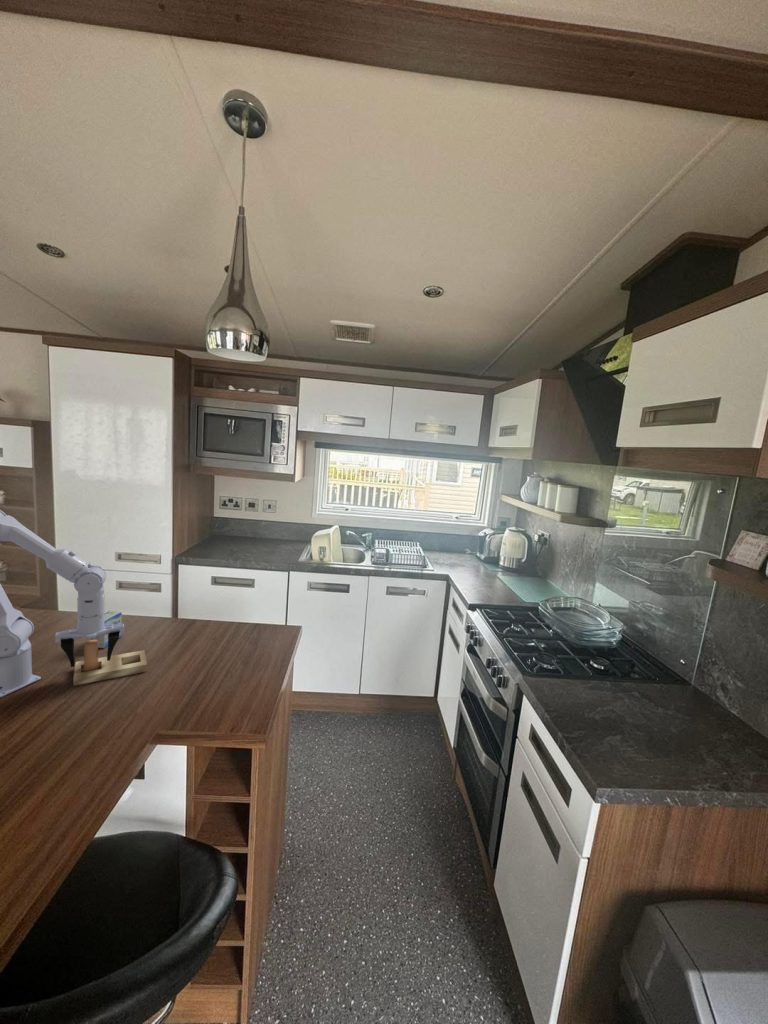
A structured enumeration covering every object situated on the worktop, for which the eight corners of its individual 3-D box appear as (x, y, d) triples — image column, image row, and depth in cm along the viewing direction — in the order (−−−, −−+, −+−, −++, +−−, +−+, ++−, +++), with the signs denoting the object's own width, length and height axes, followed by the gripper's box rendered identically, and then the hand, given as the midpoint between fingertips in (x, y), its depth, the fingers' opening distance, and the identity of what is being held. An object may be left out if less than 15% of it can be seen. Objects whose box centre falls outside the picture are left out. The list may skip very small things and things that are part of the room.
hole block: (73, 685, 100) (73, 678, 100) (75, 668, 107) (75, 661, 107) (146, 671, 109) (146, 664, 109) (144, 656, 117) (144, 650, 116)
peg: (90, 678, 104) (89, 645, 103) (81, 675, 105) (81, 643, 104) (100, 672, 107) (100, 641, 106) (92, 670, 108) (92, 638, 106)
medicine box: (104, 649, 119) (104, 621, 118) (89, 647, 119) (89, 620, 118) (122, 637, 127) (122, 611, 125) (108, 636, 127) (108, 610, 126)
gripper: (53, 623, 96) (54, 675, 98) (124, 614, 105) (124, 662, 106) (56, 613, 102) (57, 662, 104) (123, 605, 110) (123, 651, 112)
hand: (91, 661), depth 105 cm, fingers open, 7 cm apart
